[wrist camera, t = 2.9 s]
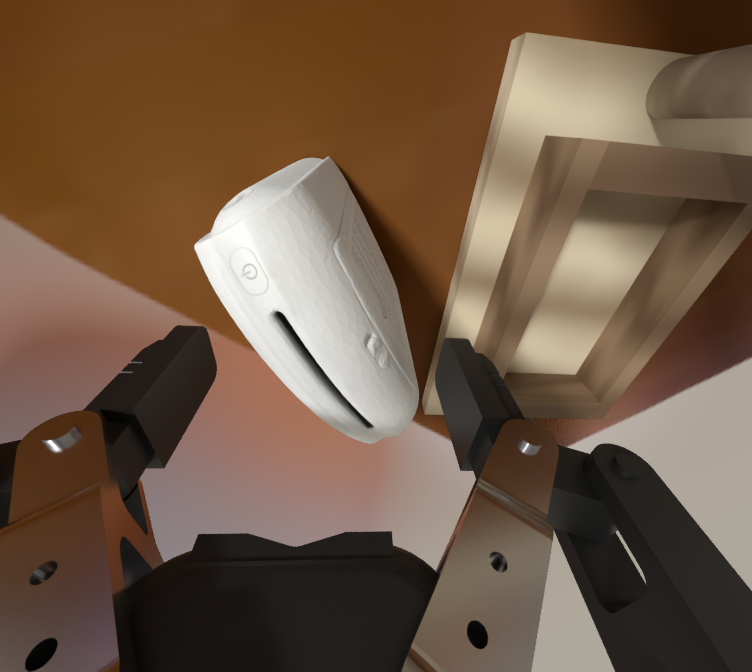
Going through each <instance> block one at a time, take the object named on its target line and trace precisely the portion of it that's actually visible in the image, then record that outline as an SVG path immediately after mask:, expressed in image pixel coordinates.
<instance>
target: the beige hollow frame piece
mask: <svg viewBox="0 0 752 672" xmlns="http://www.w3.org/2000/svg"><path fill="white" fill-rule="evenodd" d="M751 230H752V44H750V45H745V46H740V47H735V48H729V49H724V50H719V51H714V52H709V53H704V54H699V55H689V54H682V53H674V52H667V51H659V50H652V49H645V48H637V47H630V46H623V45H615V44H608V43H601V42H593V41H586V40H579V39H571V38H564V37H557V36H549V35H542V34H535V33H527V32H526V33H524V34H523V35H521V36H519V37H517V38H515V39H513V40H512V41H511V45H510V49H509V53H508V57H507V61H506V65H505V69H504V73H503V77H502V81H501V85H500V89H499V93H498V97H497V101H496V105H495V109H494V113H493V117H492V121H491V125H490V129H489V133H488V137H487V141H486V145H485V149H484V153H483V157H482V161H481V165H480V169H479V173H478V177H477V181H476V185H475V189H474V194H473V198H472V202H471V206H470V210H469V214H468V218H467V222H466V226H465V230H464V234H463V238H462V242H461V246H460V250H459V254H458V258H457V262H456V266H455V270H454V274H453V278H452V282H451V286H450V290H449V294H448V298H447V302H446V306H445V310H444V314H443V318H442V322H441V326H440V330H439V334H438V338H437V342H436V346H435V350H434V354H433V358H432V362H431V366H430V370H429V374H428V378H427V382H426V386H425V390H424V394H423V398H422V405H423V410H424V414H426V415H444V414H443V410H442V407H441V404H440V400H439V397H438V394H437V390H436V386H435V372H436V368H437V364H438V360H439V356H440V352H441V348H442V344H443V341H444V339H445V338H467V339H469V341H470V343H471V345H472V347H473V348H474V350H475V352H476V353H482V354H483V355H485V356H486V357H487V358H488V359H489V360H490V361H492V362H493V363H494V365H495V367H496V369H497V370H498V372H499V374H500V375H499V376H501V377H502V379H503V381H504V383H505V386H507V388H508V389H509V391H510V393H511V395H512V396H513V398H514V400H515V402H516V403H517V405H518V407H519V409H520V410H521V412H522V414H523V416H524V417H525V419H526V420H527V421H530V422H532V423H535V424H536V422H535V421H534V419H533V418H562V419H603V418H604V416H605V415H606V414H607V413H608V411H609V410H610V409H611V408H612V406H613V405H614V404H615V402H616V401H617V400H618V399H619V397H620V396H621V395H622V394H623V392H624V391H625V390H626V388H627V387H628V386H629V385H630V383H631V382H632V381H633V380H634V378H635V377H636V376H637V375H638V373H639V372H640V371H641V369H642V368H643V367H644V366H645V364H646V363H647V362H648V361H649V359H650V358H651V357H652V355H653V354H654V353H655V352H656V350H657V349H658V348H659V347H660V345H661V344H662V343H663V341H664V340H665V339H666V338H667V336H668V335H669V334H670V333H671V331H672V330H673V329H674V328H675V326H676V325H677V324H678V322H679V321H680V320H681V319H682V317H683V316H684V315H685V314H686V312H687V311H688V310H689V308H690V307H691V306H692V305H693V303H694V302H695V301H696V300H697V298H698V297H699V296H700V295H701V293H702V292H703V291H704V289H705V288H706V287H707V286H708V284H709V283H710V282H711V281H712V279H713V278H714V277H715V275H716V274H717V273H718V272H719V270H720V269H721V268H722V267H723V265H724V264H725V263H726V262H727V260H728V259H729V258H730V256H731V255H732V254H733V253H734V251H735V250H736V249H737V248H738V246H739V245H740V244H741V242H742V241H743V240H744V239H745V237H746V236H747V235H748V234H749V232H750V231H751Z"/></svg>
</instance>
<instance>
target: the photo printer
mask: <svg viewBox="0 0 752 672" xmlns="http://www.w3.org/2000/svg"><path fill="white" fill-rule="evenodd" d="M194 248H195V251H196V253H197V255H198V257H199V260H200V262H201V264H202V266H203V269H204V271H205V273H206V275H207V277H208V279H209V281H210V283H211V285H212V286H213V288H214V290H215V292H216V294H217V295H218V296H219V298H220V300H221V302H222V303H223V305H224V306H225V308H226V309H227V311H228V312H229V314H230V316H231V317H232V318H233V320H234V321H235V323H236V324H237V326H238V327H239V328H240V330H241V331H242V332H243V334H244V336H245V337H246V338H247V339H248V341H249V342H250V343H251V345H252V346H253V347H254V349H255V350H256V351H257V352H258V354H259V355H260V356H261V357H262V358H263V360H264V361H265V362H266V363H267V365H268V366H269V367H270V368H271V369H272V370H273V371H274V373H275V374H276V375H277V376H278V377H279V378H280V379H281V380H282V381H283V383H284V384H285V385H286V386H287V387H288V388H289V389H290V390H291V391H292V392H293V393H294V394H295V395H296V396H297V397H298V398H299V399H300V400H301V401H302V402H303V403H304V404H305V405H306V406H307V407H308V408H309V409H310V410H312V411H313V412H314V413H315V414H316V415H317V416H319V417H320V418H321V419H322V420H324V421H325V422H326V423H328V424H329V425H330V426H332V427H333V428H335V429H336V430H338V431H340V432H341V433H343V434H345V435H347V436H349V437H351V438H353V439H356V440H359V441H362V442H365V443H369V444H373V443H375V442H377V441H378V440H380V439H381V438H384V437H396V436H398V435H399V434H400V433H402V432H403V431H404V430H405V429H406V427H407V426H408V425H409V423H410V422H411V421H412V419H413V417H414V415H415V413H416V410H417V407H418V402H419V389H418V383H417V378H416V374H415V369H414V365H413V360H412V356H411V351H410V347H409V342H408V337H407V333H406V328H405V323H404V319H403V314H402V309H401V305H400V300H399V295H398V291H397V287H396V284H395V282H394V279H393V277H392V274H391V272H390V270H389V268H388V265H387V263H386V261H385V259H384V256H383V254H382V252H381V250H380V248H379V246H378V243H377V241H376V239H375V237H374V235H373V233H372V231H371V229H370V227H369V225H368V223H367V220H366V218H365V216H364V214H363V212H362V210H361V208H360V206H359V204H358V202H357V201H356V199H355V197H354V195H353V193H352V191H351V189H350V187H349V185H348V183H347V181H346V179H345V178H344V176H343V174H342V173H341V171H340V170H339V168H338V167H337V165H336V164H335V163H334V162H333V160H332V159H331V158H330V157H329V156H328V157H327V158H325V159H324V160H322V159H319V158H305V159H302V160H299V161H297V162H295V163H293V164H291V165H289V166H287V167H286V168H284V169H282V170H280V171H278V172H276V173H274V174H272V175H270V176H269V177H267V178H265V179H263V180H261V181H260V182H258V183H256V184H254V185H252V186H250V187H249V188H247V189H245V190H243V191H242V192H240V193H239V194H238V195H236V196H235V197H234V198H233V199H232V200H230V201H229V202H228V203H227V204H226V205H225V206H224V208H223V209H222V210H221V211H220V213H219V215H218V216H217V218H216V220H215V223H214V226H213V229H212V231H211V232H210V233H209V234H207V235H206V236H204V237H203V238H202V239H200V240H199V241H198V242H197V243H196V244H195V246H194Z"/></svg>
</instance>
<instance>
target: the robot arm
mask: <svg viewBox="0 0 752 672" xmlns="http://www.w3.org/2000/svg"><path fill="white" fill-rule="evenodd" d="M216 372H217V365H216V360H215V357H214V353H213V349H212V346H211V342H210V338H209V335H208V332H207V330H206V328H205V327H203V326H181V325H178V326H176V327H175V328H174V329H173V330H172V331H171V332H170V333H169V334H168V335H167V336H166V337H165V338H164V339H163V340H158V341H157V342H155V343H153V344H151V345H150V346H148V347H146V348H144V349H143V350H141V352H140V353H139V354H138V355H137V356H136V357H135V358H134V359H133V360H132V361H131V364H128V365H127V366H126V367H125V368H124V369H123V370H122V373H119V374H118V375H117V376H116V377H115V378H114V379H113V380H112V381H111V382H110V383H109V384H108V385H107V386H106V387H105V388H104V389H103V390H102V391H101V392H100V393H99V395H97V396H96V397H95V398H94V400H93V401H92V402H91V403H90V404H89V405H88V406H87V407H86V408H85V409H84V410H83V411H74V412H69V413H65V414H62V415H59V416H57V417H54V418H52V419H49V420H48V421H45V422H44V423H42V424H40V425H39V426H37V427H36V428H34V429H33V430H31V431H30V432H29V433H28V434H27V435H26V436H25V437H24V438H23V439H22V440H18V441H13V442H9V443H4V444H0V672H531V669H532V662H533V657H534V651H535V645H536V638H537V633H538V627H539V621H540V614H541V609H542V603H543V597H544V590H545V584H546V578H547V572H548V566H549V560H550V554H551V548H552V542H553V529H554V531H555V533H556V536H557V538H558V541H559V543H560V545H561V547H562V550H563V552H564V554H565V557H566V559H567V561H568V564H569V566H570V568H571V571H572V573H573V575H574V578H575V580H576V582H577V584H578V587H579V589H580V591H581V594H582V596H583V598H584V601H585V603H586V605H587V607H588V610H589V612H590V614H591V617H592V619H593V621H594V623H595V626H596V628H597V630H598V633H599V635H600V637H601V640H602V642H603V644H604V647H605V649H606V651H607V654H608V656H609V658H610V660H611V663H612V665H613V667H614V669H615V672H752V591H751V590H750V588H749V587H748V586H747V585H746V584H745V582H744V581H743V580H742V579H741V577H740V576H739V575H738V574H737V572H736V571H735V570H734V569H733V568H732V566H731V565H730V564H729V563H728V561H727V560H726V559H725V557H724V556H723V555H722V554H721V553H720V551H719V550H718V549H717V548H716V546H715V545H714V544H713V543H712V541H711V540H710V539H709V538H708V536H707V535H706V534H705V533H704V531H703V530H702V529H701V528H700V527H699V525H698V524H697V523H696V522H695V520H694V519H693V518H692V517H691V515H690V514H689V513H688V512H687V510H686V509H685V508H684V507H683V506H682V504H681V503H680V502H679V501H678V499H677V498H676V497H675V496H674V494H673V493H672V492H671V491H670V489H669V488H668V487H667V486H666V484H665V483H664V482H663V481H662V480H661V478H660V477H659V476H658V475H657V473H656V472H655V471H654V470H653V468H652V467H651V466H650V465H649V464H648V463H647V462H646V461H644V460H643V459H642V458H641V457H639V456H637V455H636V454H635V453H633V452H631V451H629V450H628V449H626V448H623V447H621V446H618V445H614V444H600V445H598V446H596V447H595V449H594V450H593V451H592V452H591V454H588V453H584V452H580V451H577V450H574V449H570V448H567V447H563V446H560V445H557V444H556V442H555V440H554V439H553V438H552V436H551V435H550V434H549V433H548V432H547V431H546V430H544V429H543V428H542V427H540V426H538V425H537V424H535V423H532V422H530V421H527V420H526V419H525V417H524V416H523V414H522V412H521V410H520V409H519V407H518V405H517V403H516V402H515V400H514V398H513V396H512V395H511V393H510V391H509V389H508V388H507V386H505V383H504V381H503V379H502V377H501V376H499V375H500V374H499V372H498V370H497V369H496V367H495V365H494V363H493V362H492V361H490V360H489V359H488V358H487V357H486V356H485V355H483V354H482V353H476V352H475V350H474V348H473V347H472V345H471V343H470V341H469V339H467V338H445V339H444V341H443V344H442V348H441V352H440V356H439V360H438V364H437V368H436V372H435V386H436V390H437V394H438V397H439V400H440V404H441V407H442V410H443V414H444V417H445V420H446V424H447V427H448V430H449V434H450V437H451V441H452V444H453V447H454V450H455V454H456V457H457V461H458V464H459V467H460V470H461V471H474V474H475V477H476V481H475V483H474V485H473V488H472V490H471V492H470V495H469V497H468V499H467V502H466V504H465V506H464V508H463V511H462V513H461V515H460V517H459V520H458V522H457V525H456V527H455V529H454V531H453V534H452V536H451V538H450V540H449V543H448V545H447V547H446V549H445V551H444V554H443V556H442V558H441V560H440V562H439V565H438V567H437V569H436V571H435V570H434V569H433V568H432V567H430V566H429V565H428V564H427V563H426V562H424V561H423V560H422V559H420V558H419V557H417V556H416V555H414V554H412V553H411V552H408V551H406V550H404V549H402V548H399V547H396V546H393V542H392V532H345V533H342V534H339V535H335V536H332V537H329V538H325V539H322V540H319V541H315V542H312V543H309V544H306V545H303V546H298V547H293V546H288V545H285V544H281V543H278V542H275V541H271V540H268V539H264V538H261V537H258V536H255V535H251V534H198V537H197V539H196V542H195V544H194V547H193V549H192V551H189V552H186V553H184V554H181V555H179V556H176V557H174V558H172V559H170V560H168V561H167V562H165V563H164V561H163V558H162V556H161V554H160V552H159V550H158V547H157V544H156V541H155V538H154V533H153V529H152V524H151V520H150V515H149V511H148V507H147V502H146V498H145V493H144V489H143V485H142V482H141V480H140V479H139V478H140V477H141V475H142V474H143V472H144V470H145V469H146V468H165V466H166V464H167V463H168V461H169V459H170V457H171V456H172V454H173V452H174V450H175V449H176V447H177V445H178V443H179V442H180V440H181V438H182V436H183V434H184V433H185V431H186V429H187V428H188V426H189V424H190V422H191V421H192V419H193V417H194V415H195V414H196V412H197V410H198V408H199V406H200V405H201V403H202V401H203V400H204V398H205V396H206V394H207V393H208V391H209V389H210V387H211V386H212V384H213V382H214V380H215V377H216ZM617 530H618V531H619V532H620V534H621V535H622V537H623V539H624V541H625V542H626V544H627V546H628V548H629V549H630V551H631V553H632V554H633V556H634V557H635V559H636V561H637V563H638V564H639V566H640V568H641V569H642V572H643V574H644V576H645V580H646V584H645V582H644V580H643V578H642V577H641V576H640V573H639V572H638V570H637V568H636V566H635V565H634V563H633V561H632V560H631V558H630V556H629V554H628V553H627V551H626V549H625V548H624V546H623V544H622V543H621V541H620V539H619V537H618V536H617V534H616V531H617Z"/></svg>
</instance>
